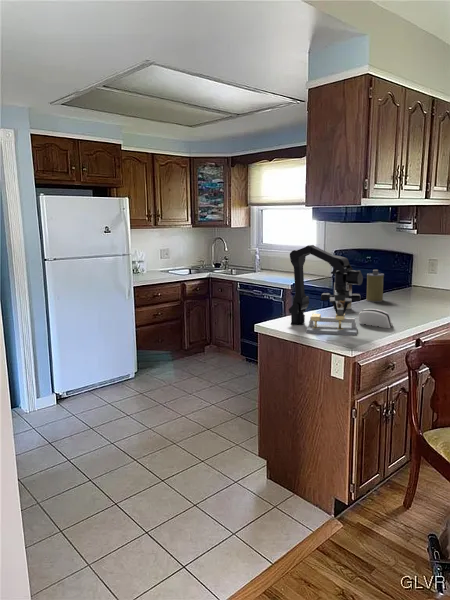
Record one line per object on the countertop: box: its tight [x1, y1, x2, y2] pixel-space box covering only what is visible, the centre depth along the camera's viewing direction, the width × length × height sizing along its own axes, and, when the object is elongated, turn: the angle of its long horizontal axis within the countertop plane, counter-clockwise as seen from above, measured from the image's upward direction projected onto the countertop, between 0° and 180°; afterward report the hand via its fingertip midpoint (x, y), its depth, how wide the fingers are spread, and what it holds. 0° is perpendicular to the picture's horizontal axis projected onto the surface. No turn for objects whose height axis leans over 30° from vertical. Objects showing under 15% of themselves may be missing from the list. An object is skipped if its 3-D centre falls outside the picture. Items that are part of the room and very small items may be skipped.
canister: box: [365, 269, 385, 303], centre depth 292 cm, size 11×10×20 cm
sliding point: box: [335, 308, 346, 328], centre depth 226 cm, size 4×6×9 cm, turn 163°
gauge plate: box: [305, 313, 358, 336], centre depth 226 cm, size 24×12×8 cm, turn 73°
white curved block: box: [358, 308, 394, 329], centre depth 233 cm, size 17×5×10 cm, turn 47°
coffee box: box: [333, 281, 353, 310], centre depth 273 cm, size 9×6×16 cm
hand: (340, 314), depth 225 cm, fingers closed on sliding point, 3 cm apart
